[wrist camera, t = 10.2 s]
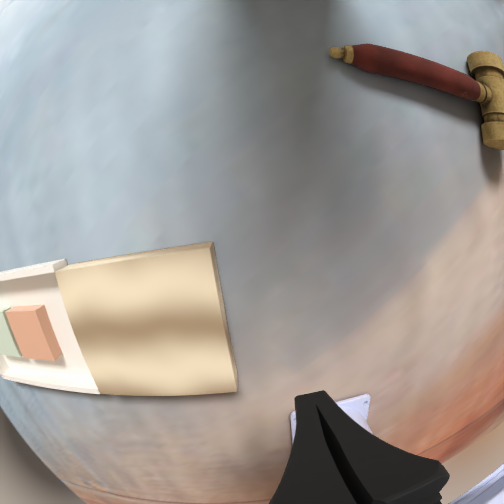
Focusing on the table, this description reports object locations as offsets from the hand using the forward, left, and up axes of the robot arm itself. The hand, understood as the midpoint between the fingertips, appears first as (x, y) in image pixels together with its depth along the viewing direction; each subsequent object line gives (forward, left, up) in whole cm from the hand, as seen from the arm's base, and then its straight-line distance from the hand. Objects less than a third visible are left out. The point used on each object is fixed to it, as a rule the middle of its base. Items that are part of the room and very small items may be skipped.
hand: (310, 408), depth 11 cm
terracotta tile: (+1, +23, -10) cm, 25 cm away
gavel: (+19, -17, -11) cm, 27 cm away
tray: (+1, +25, -10) cm, 26 cm away
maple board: (+1, +10, -10) cm, 14 cm away
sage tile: (+1, +29, -8) cm, 30 cm away
